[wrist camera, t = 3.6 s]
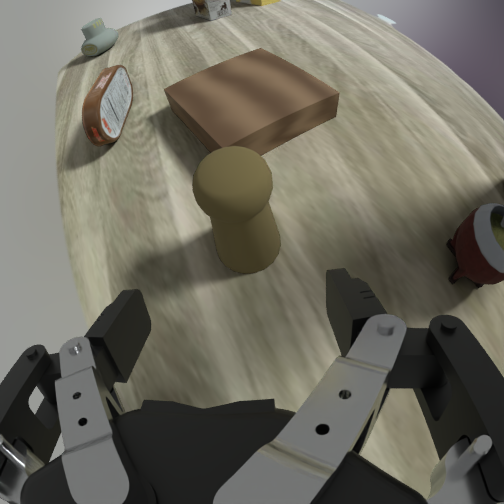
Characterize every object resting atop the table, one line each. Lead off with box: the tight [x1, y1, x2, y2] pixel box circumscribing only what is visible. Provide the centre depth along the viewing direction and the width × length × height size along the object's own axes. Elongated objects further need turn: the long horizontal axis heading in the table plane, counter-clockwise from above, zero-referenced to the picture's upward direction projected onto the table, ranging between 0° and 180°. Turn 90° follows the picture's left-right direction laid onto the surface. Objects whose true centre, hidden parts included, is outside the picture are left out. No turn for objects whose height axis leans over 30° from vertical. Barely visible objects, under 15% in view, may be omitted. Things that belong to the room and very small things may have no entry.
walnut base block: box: [164, 48, 339, 156], centre depth 32 cm, size 16×16×4 cm
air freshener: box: [81, 18, 118, 56], centre depth 49 cm, size 11×8×10 cm
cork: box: [192, 146, 281, 274], centre depth 22 cm, size 6×6×11 cm
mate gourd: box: [446, 203, 504, 288], centre depth 17 cm, size 8×8×15 cm
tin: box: [82, 65, 133, 146], centre depth 33 cm, size 15×3×8 cm, turn 4°
